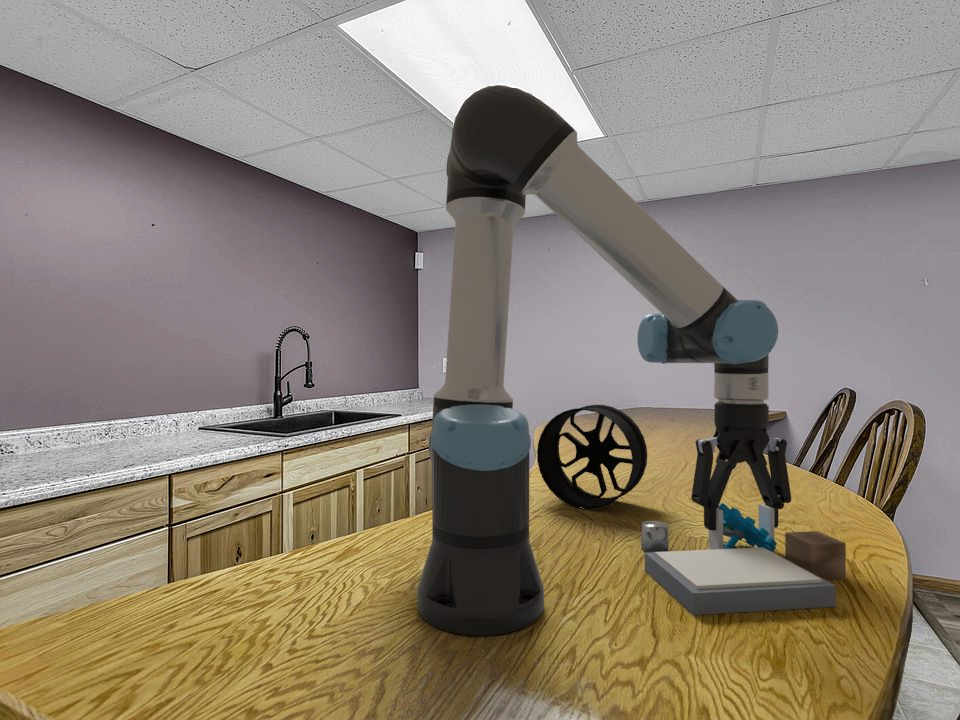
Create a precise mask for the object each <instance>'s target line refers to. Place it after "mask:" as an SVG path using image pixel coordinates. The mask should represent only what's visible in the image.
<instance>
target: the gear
mask: <svg viewBox="0 0 960 720" xmlns="http://www.w3.org/2000/svg"><path fill="white" fill-rule="evenodd" d="M718 508H719V509H721V510H723V537H724V536H725V537H728V538H729V540H728V541H727V542H726V543H725V545H723V549H734V547H735V546H736V544H737V543H738V541H742V540H745V543H747V545H749V546H751V547H752V548H755V546H756V548H759V547H765V548H767V549H768V550H770V551H772V552H774V553H775V551H774V550H776V549H777V547H776V546H777V545H778V543H777V542H776V540H774V539H772V538H770V537H769V538H767V536H768V535H769V532H767V531H766V530H765V529H764V528H760V529H759V528H757V527H756V526H755V524H756V520H755V519H753V518H751V517H750V516H746V517H744V516H743V515H742V513H741V511H740V510H739V509H737V508H735V507H731V508H729V507H728V505H726V504H725V503H724V502H720V503H719V506H718ZM707 542H708V543H709V540H707Z"/></svg>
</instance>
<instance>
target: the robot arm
mask: <svg viewBox="0 0 960 720" xmlns="http://www.w3.org/2000/svg"><path fill="white" fill-rule="evenodd" d="M451 131H452V132H451V138H450V139H451V142H450V147H449V152H448V155H447V159H446V160H447V161H446V167H445V168H446V176H447V185H446V201H445V210H446V212H447V213H448V214H449V215H450V216H451V218H452V219H453V220H454V223H455V227H454V238H453V239H454V240H453V255H452V256H453V257H452V271H451V273H452V274H451V284H450V285H451V286H450V300H449V302H450V304H449V318H448V332H447V346H446V347H447V349H446V363H445V364H446V365H445V381H444V382H445V383H444V384H443V386H441V387H440V388H439V390H437V391H436V392H435V393H434V394H433V405H432V420H431V432H430V434H429V438H428V452H429V453H428V454H429V458H430V461H431V462H430V463H431V471H432V473H431V475H432V479H431V480H432V481H431V482H432V484H431V487H432V489H431V491H432V493H431V494H432V497H431V498H432V506H431V507H432V517H431V518H432V520H431V522H432V523H431V524H432V527H431V528H432V529H431V530H432V535H431V536H432V540H431V544H430V547H429V550H428V553H427V555H426V556H427V557H426V560H425V563H424V567H423V569H422V573H421V576H420V579H419V581H418V585H417V586H418V587H417V611H418V613H419V614H420V615H419V616H421V618H423V619H424V620H425V621H426V622H427V623H428V624H430V625H432V626H434V627H436V628H437V629H441V630H443V631H446V632H450V633H455V634H458V635H459V634H460V635H465V636H466V635H468V636H495V635H503V634H508V633H513V632H516V631H518V630H522V629H524V628H527V627H528V626H530V625H531V624H534V623H535V622H536V621H537V620H538V619H539V618H540V617H541V616H542V615H543V612H544V608H545V590H544V584H543V581H542V577H541V574H540V571H539V567H538V564H537V561H536V558H535V555H534V551H533V549H532V546H531V545H532V544H531V542H530V450H531V446H532V439H531V434H530V427H529V422H528V419H527V418H526V416H525V415H524V414H523V413H522V412H520V411H519V410H517V409H514V408H513V407H514V399H513V397H511V395H510V394H509V392H507V390H506V389H505V386H504V384H505V370H506V369H505V367H506V366H505V365H506V354H507V353H506V352H507V335H508V319H509V305H510V304H509V303H510V286H511V273H512V271H511V270H512V257H513V243H514V242H513V240H514V227H515V224H517V222H519V221H520V220H521V219H522V218H523V217H525V212H526V201H527V195H535V196H536V197H537V198H538V199H539V200H540V201H541V202H542V203H544V204H545V205H546V206H547V207H548V208H549V209H550V210H551V211H552V212H553V214H555V215H556V216H558V217H559V219H561V220H562V221H563V222H564V223H565V224H566V225H567V226H568V227H569V228H570V229H571V230H573V232H575V234H576V235H578V236H579V238H581V240H583V241H584V243H586V244H588V245H589V247H591V248H592V249H593V250H594V251H595V252H596V253H597V254H598V255H599V256H600V257H601V258H602V259H603V260H604V261H606V262H607V263H608V264H609V265H610V266H611V268H612V269H614V270H615V271H616V272H617V273H618V274H619V275H621V277H622V278H624V279H625V280H626V282H628V283H629V284H630V285H631V286H632V287H633V288H634V289H635V290H636V291H637V292H639V294H640V295H642V296H643V298H645V299H646V300H647V301H648V302H649V303H650V304H651V305H652V306H653V307H655V309H656V310H658V311H659V313H649V314H646V315H645V316H644V317H643V318H642V319H641V320H640V323H639V326H638V329H637V340H636V341H637V348H638V352H639V354H640V356H641V358H642V359H643V360H644V361H645V362H647V363H656V364H657V363H658V364H662V365H665V364H713V366H714V367H713V368H714V369H713V370H714V383H713V387H714V388H713V390H714V391H713V394H714V395H713V398H715V399H716V400H718V401H716V402H715V403H714V409H713V410H714V411H713V412H714V416H713V417H714V422H713V423H714V426H715V432H714V434H713V436H712V437H709V438H706V439H703V438H697V439H696V440H695V448H696V451H697V452H696V453H697V455H696V463H695V468H694V469H695V470H694V476H693V483H692V490H691V497H690V499H691V502H692V503H695V504H697V505H699V506H701V507H703V526H704V529H705V528H706V530H708V541H709V542H708V549H709V550H713V549H723V548H724V535H723V510H721V509H719V508H718V506H719V505H720V504H721V500H722V498H723V495H724V493H725V490H726V489H727V485H728V482H729V480H730V477H731V474H732V472H733V470H735V468H736V467H737V464H742V463H744V462H745V463H746V464H747V465H748V466H749V468H750V470H751V473H752V475H753V476H752V477H753V478H754V481H755V484H756V487H757V489H758V492H759V494H760V496H761V499H762V501H763V503H764V504H763V503H758V529H760V528H764V529H765V530H766V531H767V532H769V535H768V536H767V538H769V537H770V538H772V539H774V540H775V528H776V529H777V528H778V527H779V525H780V524H779V523H780V522H779V520H780V519H779V510H783V509H784V507H785V504H790V503H792V493H791V487H790V480H789V479H790V478H789V474H788V467H787V461H786V451H787V446H788V442H787V440H786V439H784V438H779V437H775V436H772V437H770V436H769V434H768V431H767V429H768V427H769V426H770V423H769V422H770V414H769V413H770V411H769V409H770V408H769V407H770V406H769V405H768V404H767V403H765V401H767V400H768V399H769V356H770V353H771V352H772V350H773V349H774V347H775V346H776V343H777V340H778V337H779V325H778V320H777V318H776V316H775V314H774V313H773V311H772V310H771V309H770V308H769V307H768V306H767V304H766V303H765V302H764V301H761V300H756V299H741V300H740V299H739V300H738V299H737V298H736V297H735V296H734V295H733V294H732V293H731V292H729V290H728V289H727V288H725V286H723V285H722V284H721V283H720V282H719V281H718V280H717V279H716V278H715V276H713V275H712V274H711V273H710V272H709V271H708V270H707V269H705V267H704V266H703V265H702V264H701V263H700V262H699V261H697V259H695V258H694V257H693V255H691V254H690V253H689V252H688V251H687V250H686V249H685V248H684V247H683V246H682V245H681V244H680V243H679V242H678V241H677V240H676V239H675V238H674V237H673V236H672V235H671V234H670V233H669V232H667V231H666V229H665V228H663V227H662V225H660V224H659V222H658V221H656V220H655V219H654V217H652V215H650V214H649V213H648V212H647V211H646V210H645V209H644V208H643V207H642V206H641V205H640V204H639V203H638V202H636V200H634V199H633V197H631V196H630V195H629V194H628V192H626V191H625V190H624V189H623V187H621V185H619V184H618V183H617V182H616V181H615V180H614V179H613V178H612V177H611V176H610V175H609V174H608V173H607V172H606V171H605V170H604V169H603V168H601V166H600V165H598V163H597V162H595V161H594V159H592V158H591V156H589V155H588V153H586V152H585V151H584V150H583V149H582V148H581V147H580V146H579V144H578V132H577V130H576V129H575V128H574V127H573V126H571V124H570V123H568V122H567V121H566V120H565V119H564V118H563V117H562V116H561V115H560V114H559V113H558V112H557V111H556V110H554V108H553V107H551V106H550V105H548V104H547V103H546V102H544V101H543V100H542V99H540V98H539V97H538V96H536V95H534V94H532V93H530V92H529V91H527V90H526V89H523V88H521V87H518V86H515V85H512V84H507V83H506V84H505V83H494V84H490V85H486V86H482V87H480V88H479V89H477V90H475V91H474V92H472V93H470V95H469V96H467V97H466V98H465V99H464V100H463V101H462V103H461V105H459V108H458V110H457V112H456V114H455V116H454V120H453V125H452V130H451ZM716 448H717V449H718V454H717V457H716V459H715V466H714V469H713V463H714V453H715V452H716ZM765 449H766V450H767V459H768V462H767V460H766V457H765V454H764V451H765ZM767 465H768V466H769V469H768V467H767ZM712 470H713V472H712ZM775 541H776V540H775ZM775 550H776V549H775ZM775 550H774V552H775Z"/></svg>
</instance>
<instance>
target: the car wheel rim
mask: <svg viewBox="0 0 960 720" xmlns="http://www.w3.org/2000/svg"><path fill="white" fill-rule="evenodd" d="M582 411H589V412H592V413H593V412H594V413H597V414H598V418H597V420H596V424H595V428H594V429H591V430H588V431H584V430H583V429H582V428H581V427H580V426H578V425H577V424H576V422H575V415H576V414H578V413H580V412H582ZM605 418H608V419H609V420H610V421H611V423H610V426H609V428H608V431H607V434H606V437H604V439H603V441H602V440H601V435H600V434H601V431H602V427H603V423H604V421H605ZM568 420H570V421H569V422H570V423H569V424H570V425H571V427H573V428H574V429H575V430H576V431H577V432H578V433H580V434H581V435H582V436H583V437H584V438H585V440H586V441H587V442H588V445H587V444H584V443H582V442H581V441H580V440H579V439H578V438H577V437H575V436H574V435H573V434H572V433H570V432H568V431H565V432H562V430H563V427H564V426H565V424H566V422H567V421H568ZM615 425H616V426H617V427H618V428H619V430H620V431H621V432H622V433H623V435H624V437H625V439H626V441H627V443H628V445H626V444H619V443H618V442H617V441H616V440H615V438H614V436H613V433H612V432H613V430H614V427H615ZM561 432H562V433H561ZM562 437H564V438H566V439H567V440H568V441H569V442H571V443H572V444H573V445H574V447H575V457H574V458H573V459H571V460H569V461H567V463H564V462H562V460H561V455H560V440H561V438H562ZM614 450H624V451H625V450H627V451H628V450H630V455H631V458H628V457H620V456H619V457H618V456H614V455H612V454H610V452H612V451H614ZM536 457H537V465H538V470H539V472H540V475H541V478H542V480H543V482H544V483H545V485H546V487H547V488H548V489H549V490H550V491H551V493H552V494H553V495H554V496H555V497H556V498H557V499H559V500H560V501H562V502H563V503H565V504H566V505H569V506H571V507H574V508H576V509H581V508H580V507H582V508H584V509H583V510H591V511H592V510H598V509H603V508H604V507H607V506H609V505H612V504H613V503H614V502H616V501H617V500H619V498H621V497H623V496H624V495H627V494H628V493H629V492H631V491H633V489H634V488H635V487H636V486H637V485H638V484H639V483H640V482H641V480H642V478H643V476H644V474H645V471H646V469H647V464H648V463H647V462H648V448H647V444H646V440H645V436H644V434H643V433H642V431H641V429H640V427H639V426H638V425H637V423H635V421H634V420H633V419H632V418H631V417H630V415H627V413H625V412H623V411H622V410H620V409H618V408H616V407H613V406H610V405H605V404H589V405H585V406H582V407H579V408H572V409H567V410H565V411H562V412H560V413H559V414H556V415H555V416H554V417H553V418H551V419H550V420H549V421H548V423H547V424H546V425H545V426H544V428H543V430H542V431H541V434H540V437H539V439H538V442H537V450H536ZM586 458H587V459H588V461H587V464H586V466H584V467H583V468H582V469H580V470H579V471H577V472H576V473H574V474H573V475H572V476H571V480H570V478H569V476H568V475H567V474H566V473H565V471H564V469H563V468H565V469H566V468H569V467H570V466H572V465H574V464H575V463H576V462H578V461H580V460H582V459H586ZM620 463H621V464H623V463H624V464H629V465H631V472H630V476H629V479H628V481H627V484H626V485H625V487H624V488H623V487H620V486H619V484H618V482H617V479H616V476H615V473H614V471H615V469H616V467H617V466H618V465H619V464H620ZM602 465H603V466H604V467H605V468H606V469H607V471H608V474H609V478H610V481H611V484H612V487H613V489H614V490H616V491H618V492H620V493H619V494H618V495H616V496H610V497H603V496H604V495H605V494H606V492H607V491H608V489H607V486H606V481H605V478H604V477H605V476H604V474H603V470H602ZM585 473H589V474H592V475H593V476H595V477H596V478H597V479H598V480H597V481H598V484H599V488H600V489H599V490H600V493H599V494H598V495H597V494H593V493H591V492H588V491H586V490H584V489H583V488H581V487H580V486H579V485H578V483H577V478H579V477H580V476H582V475H583V474H585ZM581 510H582V509H581Z"/></svg>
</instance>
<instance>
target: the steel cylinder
mask: <svg viewBox="0 0 960 720" xmlns="http://www.w3.org/2000/svg"><path fill="white" fill-rule="evenodd" d="M640 526H641V529H640V531H641V535H640V536H641V546H640V547H641V551H642V552H643V553H644V554H645V553H648V552H667V551H669V550H670V549H669V545H670V544H669V542H670V541H669V531H670V529H669V524H667V523H665V522H663V521H659V520H658V521H657V520H645V521H642V522H641V525H640Z"/></svg>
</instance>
